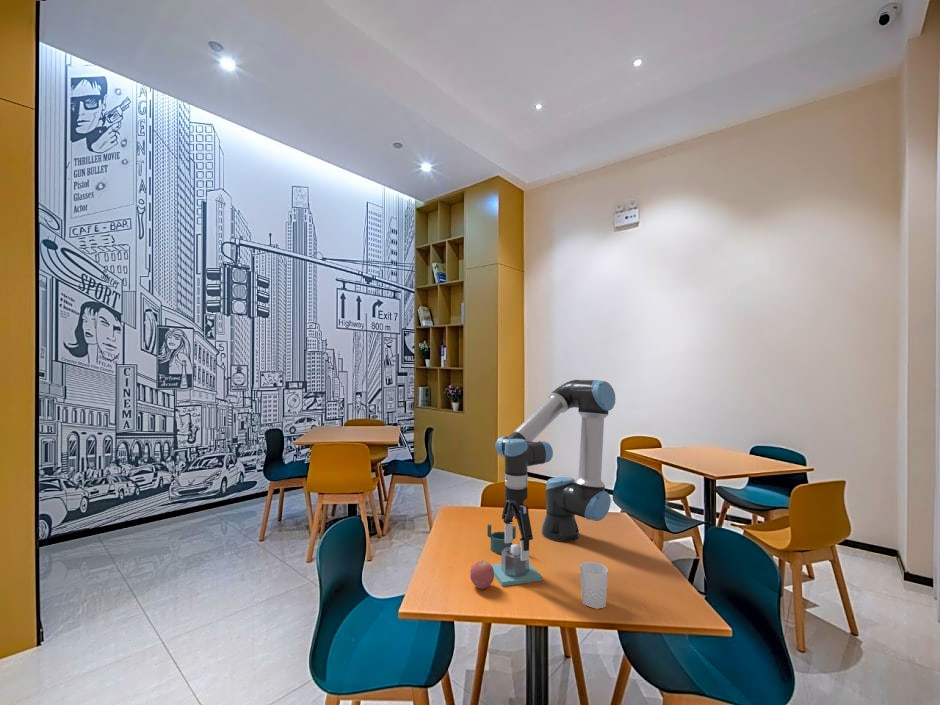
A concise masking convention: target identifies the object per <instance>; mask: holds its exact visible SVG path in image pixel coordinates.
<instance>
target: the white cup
mask: <svg viewBox="0 0 940 705" xmlns="http://www.w3.org/2000/svg"><path fill="white" fill-rule="evenodd" d="M579 572H580V574H579V577H580V592H581V602H582V604H583V605H584V604H585V605H584V606H586V605H587V606H590V607H593V608H602V607H604V608H605V607H606V606H607V596H608V595H607V594H608V581H609V580H608V579H609V578H608V577H609V569H608V567H607V566H606V565H604V564H602V563H600V562H599V563H598V562H595V561H584V562H582V563H580V565H579ZM587 606H586V607H587ZM602 609H603V608H602Z"/></svg>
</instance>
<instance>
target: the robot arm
mask: <svg viewBox="0 0 940 705" xmlns="http://www.w3.org/2000/svg"><path fill="white" fill-rule="evenodd" d="M615 393H616V392H615V390H614V388H613V387H612V385H611V384H610V383H609V382H608V381H606V380H599V379H573V380H569V381H566V382H565V383H563V384H561V385H559V386H558V387H556V388H555V389H554V390H552V392H551V393H549V395H548V397H547V400H545V401H544V402H543V404H541V405H540V407H538V408H537V409H536V410H535V411H534V412H533V413H531V415H530V416H529V417H527V419H526V420H524V421H523V422H522V423H521V424H520V425H519V426H518V427H517V428H516V429H514V431H513V432H511V434H509V436H506V435H505V436H500V437H498V438H497V440H496V441H495V446H494V447H495V451H496V453H497V454H498V455H499V456H501V457H504V477H503V480H504V485H505V487H504V505H503V510H502V514H501V520H503V523H504V532H505V543H512V544H514V543H513V542H514V539H513V526H514V524H513V522H514V520H513V519H515V520H516V521H517V525H518V528H519V534H520V539H519V540H520V548H521V561H524V560H529V561H530V541H532V540H534V536H533V532H532V525H531V520H530V515H529V514H530V513H529V506H527V505H526V506H525V505H524V501H526V500H527V499H528V498H529V497H528V496H529V495H528V485H529V484H528V482H529V481H528V467H531V466H536V465H543V464H545V463H549V462H550V461H551V460H552V458H553V456H554V455H553V454H554V450H553V447H552V446H551V444H550V443H549V442H547V441H546V440H544V441H543V440H542V441H540V440H539V441H535V439H536V438H537V437H538V436H539V435H540V434H542V432H543V431H544V430H545V429H546V428H547V427H549V425H550V424H551V423H552V422H553V421H554V420H556V418H557V417H558V416H559V415H561V414H563V413H566V412H567V411H568V410H570V409H573V408H577V409H578V414H579V415H580V417H581V426H580V427H581V428H580V446H579V460H578V461H579V463H578V476H577V478H576V479H575V478H573V477H570V476H567V477H566V476H565V477H564V476H561V477H558V476H557V477H552V478H549V479H547V481H546V486H545V495H546V496H545V497H546V498H545V503H546V506H545V509H546V510H545V512H546V514H545V516H544V520H543V523H542V527H541V535H542V536H544V538H547V539H550V540H551V541H557V542H573V541H576V540H578V539H579V538H580V531H579V526H578V524H577V520H576V517H575V516H579V517H581V518H584V519H586V520H589V521H590V520H591V521H594V522H599V521H602V520H603V519H604V518H605V517H606V516H607V514H608V513H609V511H610V508H611V502H612V501H611V496H610V494H609V493H608V492H607V491H605V490H606V488H605V487H606V486H605V483H604V482H603V481H602V470H603V469H602V467H603V466H602V464H603V450H604V448H603V447H604V426H605V418H607V417H608V416H609V411H611V410H612V409H613V408H614V407H615V405H616V394H615Z"/></svg>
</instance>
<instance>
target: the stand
mask: <svg viewBox="0 0 940 705" xmlns="http://www.w3.org/2000/svg"><path fill="white" fill-rule="evenodd" d="M520 548H521V544H517V543H512V545H511V552H509V554H510V555H514V556H518V555H520ZM491 565H492V567H493V569H494V578H495V579H496V580H497V581H498V582H499V584H500V585H501V586H502V587H507V586H512V585H520V584H526V583H534V582H540V581H543V579H544V578H543V575H542V574H541V573H540V572H539V571H538V570H537V569H536V568H535V567H534V566H533V565H532V564H531V563H530V562H529V572H528V573H527V574H526V576H522V577H512V576H508V575H505V574H504V573H503V571H502V570H501V563H496V564H495V563H494V564H491Z"/></svg>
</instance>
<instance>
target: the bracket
mask: <svg viewBox="0 0 940 705" xmlns="http://www.w3.org/2000/svg"><path fill="white" fill-rule="evenodd" d="M516 529H517V526H514V525H513V540H515V539H516V538H517V537H516V535H517V534H516V533H517V530H516ZM486 534H487V537H488V538H490V551H491V552H492V553H494V554H496V555H497V554H498V555H501V554H502V550H504V549H505V548H506V547H511V545H512V544H513V543H505V531H493V532H492V524H487V533H486Z"/></svg>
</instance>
